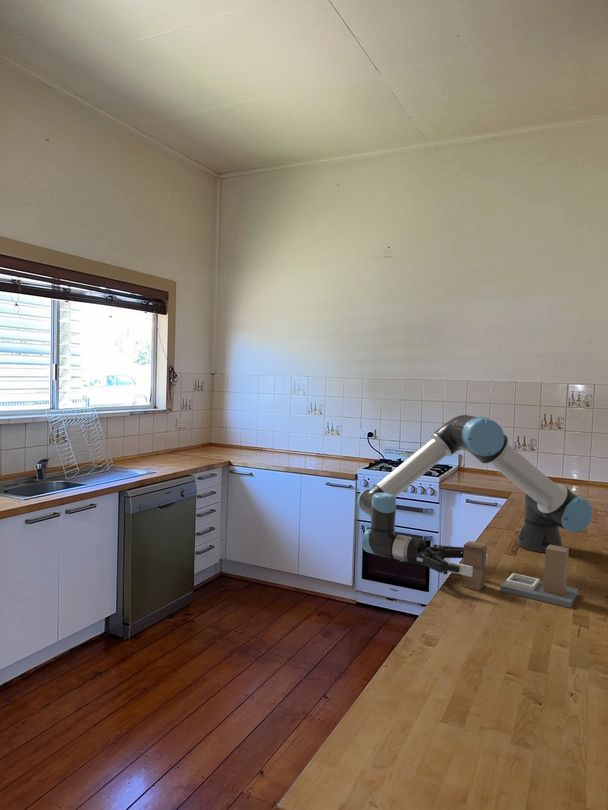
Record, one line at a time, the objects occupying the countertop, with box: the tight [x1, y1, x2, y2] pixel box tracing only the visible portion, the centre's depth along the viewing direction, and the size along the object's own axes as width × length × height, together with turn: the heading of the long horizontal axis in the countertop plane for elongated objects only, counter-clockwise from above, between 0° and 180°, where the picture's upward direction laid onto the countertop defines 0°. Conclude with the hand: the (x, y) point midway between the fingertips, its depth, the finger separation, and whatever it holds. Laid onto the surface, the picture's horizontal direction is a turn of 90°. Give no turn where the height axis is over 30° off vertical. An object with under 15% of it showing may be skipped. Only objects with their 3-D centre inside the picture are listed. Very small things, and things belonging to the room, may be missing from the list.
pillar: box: [461, 540, 488, 591], centre depth 160 cm, size 5×5×12 cm
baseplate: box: [500, 544, 579, 609], centre depth 157 cm, size 12×18×14 cm, turn 55°
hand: (480, 565), depth 159 cm, fingers open, 13 cm apart
